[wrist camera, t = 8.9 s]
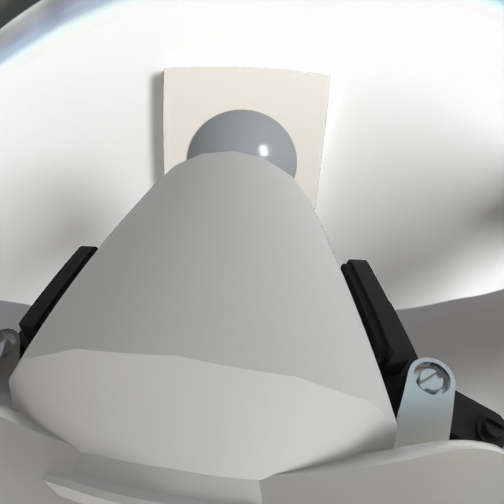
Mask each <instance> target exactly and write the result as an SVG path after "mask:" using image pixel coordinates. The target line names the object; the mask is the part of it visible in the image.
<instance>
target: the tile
mask: <svg viewBox="0 0 504 504" xmlns="http://www.w3.org/2000/svg"><path fill="white" fill-rule="evenodd" d="M329 84H330V75H324V74H317V73H309V72H301V71H292V70H282V69H269V68H253V67H178V68H164V99H163V137H164V175H165V174H166V173H167V172H168V171H170V170H171V169H172V168H173V167H174V166H175V165H177V164H180V163H182V162H184V161H186V160H189V159H191V158H193V157H196V156H198V155H200V154H203V153H215V152H228V151H236V152H240V153H244V154H248V155H252V156H256V157H260V158H264V159H266V160H268V161H269V162H271V163H272V164H274V165H276V166H277V167H279V168H280V169H282V170H283V171H285V172H286V173H288V174H289V175H291V176H292V177H293V179H294V180H295V181H296V183H297V184H298V185H299V186H300V188H301V189H302V190H303V192H304V193H305V194H306V195H307V197H308V198H309V200H310V202H311V204H312V206H313V208H314V210H315V206H316V198H317V191H318V184H319V176H320V169H321V161H322V152H323V144H324V135H325V126H326V116H327V106H328V95H329Z"/></svg>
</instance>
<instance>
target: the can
mask: <svg viewBox="0 0 504 504" xmlns="http://www.w3.org/2000/svg"><path fill="white" fill-rule="evenodd" d="M9 386H10V392H11V397H12V402H13V407H14V410H15V411H18V412H20V413H23V414H25V415H27V416H28V417H29V418H30V419H31V420H32V421H33V422H35V423H36V424H37V425H38V426H39V427H41V428H42V429H44V430H46V431H48V432H49V433H51V434H53V435H55V436H57V437H58V438H60V439H62V440H64V441H66V442H68V443H70V444H72V445H73V446H74V447H75V448H76V449H77V450H79V451H80V452H81V453H80V456H79V458H78V461H77V463H76V466H75V469H74V471H73V473H44V475H43V479H42V480H43V481H44V482H45V483H46V484H47V485H48V486H49V487H50V488H51V489H53V490H54V491H55V492H56V493H57V494H58V495H61V496H63V497H66V498H68V499H71V500H74V501H76V502H79V503H82V504H263V503H262V497H261V491H260V485H259V480H262V479H265V478H267V477H269V476H272V475H274V474H280V473H285V472H291V471H296V470H300V469H305V468H310V467H314V466H319V465H323V464H327V463H331V462H335V461H339V460H343V459H346V458H348V457H351V456H353V455H356V454H361V453H369V452H376V451H382V450H388V449H394V447H395V445H396V444H397V429H398V426H397V423H396V419H395V416H394V413H393V410H392V406H391V403H390V400H389V397H388V394H387V391H386V388H385V385H384V382H383V379H382V376H381V373H380V370H379V367H378V365H377V362H376V359H375V356H374V353H373V350H372V348H371V345H370V342H369V340H368V337H367V334H366V332H365V329H364V326H363V324H362V321H361V318H360V316H359V313H358V311H357V308H356V306H355V303H354V301H353V298H352V296H351V293H350V291H349V288H348V286H347V283H346V281H345V278H344V276H343V274H342V271H341V269H340V267H339V264H338V262H337V260H336V257H335V255H334V253H333V250H332V248H331V246H330V243H329V241H328V239H327V237H326V235H325V232H324V230H323V228H322V226H321V223H320V221H319V219H318V217H317V215H316V213H315V210H314V208H313V206H312V204H311V202H310V200H309V198H308V197H307V195H306V194H305V193H304V192H303V190H302V189H301V188H300V186H299V185H298V184H297V183H296V181H295V180H294V179H293V177H292V176H291V175H289V174H288V173H286V172H285V171H283V170H282V169H280V168H279V167H277V166H276V165H274V164H272V163H271V162H269V161H268V160H266V159H264V158H260V157H256V156H252V155H248V154H244V153H240V152H236V151H228V152H215V153H203V154H200V155H198V156H196V157H193V158H191V159H189V160H186V161H184V162H182V163H180V164H177V165H175V166H174V167H173V168H172V169H171V170H170V171H168V172H167V173H166V174H165V175H164V176H163V177H162V178H161V179H160V180H159V181H158V182H157V183H156V184H155V185H154V186H153V187H152V188H151V189H150V190H149V191H148V192H147V193H146V194H145V195H144V197H143V198H142V199H141V200H140V201H139V202H138V203H137V204H136V205H135V206H134V208H133V209H132V210H131V211H130V212H129V213H128V214H127V215H126V217H125V218H124V219H123V220H122V221H121V222H120V224H119V225H118V226H117V227H116V228H115V229H114V231H113V232H112V233H111V234H110V235H109V236H108V238H107V239H106V240H105V241H104V243H103V244H102V245H101V246H100V247H99V249H98V250H97V251H96V252H95V254H94V255H93V256H92V257H91V259H90V260H89V261H88V262H87V264H86V265H85V266H84V268H83V269H82V270H81V271H80V273H79V274H78V275H77V277H76V278H75V279H74V281H73V282H72V283H71V285H70V286H69V287H68V289H67V290H66V292H65V293H64V294H63V296H62V297H61V299H60V300H59V301H58V303H57V304H56V306H55V307H54V308H53V310H52V311H51V313H50V314H49V316H48V317H47V319H46V320H45V322H44V323H43V325H42V326H41V328H40V329H39V331H38V332H37V334H36V335H35V337H34V338H33V340H32V342H31V343H30V345H29V346H28V348H27V350H26V351H25V353H24V355H23V356H22V358H21V360H20V361H19V363H18V365H17V366H16V368H15V370H14V371H13V373H12V375H11V377H10V379H9Z"/></svg>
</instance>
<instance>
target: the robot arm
mask: <svg viewBox="0 0 504 504" xmlns="http://www.w3.org/2000/svg"><path fill="white" fill-rule="evenodd" d="M97 250H98V248H97V247H90V246H81V247H80V248H79V249H78V250H77V251H76V252H75V253H74V254H73V256H72V257H71V258H70V259H69V260H68V261H67V263H66V264H65V265H64V266H63V267H62V269H61V270H60V271H59V272H58V273H57V275H56V276H55V277H54V278H53V279H52V281H51V282H50V283H49V284H48V286H47V287H46V288H45V289H44V291H43V292H42V293H41V295H40V296H39V297H38V298H37V300H36V301H35V302H34V304H33V305H32V306H31V308H30V309H29V310H28V312H27V313H26V314H25V316H24V317H23V319H22V320H21V321H20V323H19V326H20V328H21V331H20V332H19V334H18V333H17V332H16V331H15V330H13V329H9V328H8V329H2V330H0V504H82V503H79V502H76V501H74V500H71V499H68V498H66V497H63V496H61V495H58V494H57V493H56V492H55V491H54V490H53V489H51V488H50V487H49V486H48V485H47V484H46V483H45V482H44V481H43V480H42V479H43V475H44V473H73V471H74V469H75V466H76V463H77V461H78V458H79V456H80V453H81V452H80V451H79V450H77V449H76V448H75V447H74V446H73V445H72V444H70V443H68V442H66V441H64V440H62V439H60V438H58V437H57V436H55V435H53V434H51V433H49V432H48V431H46V430H44V429H42V428H41V427H39V426H38V425H37V424H36V423H35V422H33V421H32V420H31V419H30V418H29V417H28V416H27V415H25V414H23V413H20V412H18V411H15V410H14V407H13V402H12V397H11V392H10V386H9V379H10V377H11V375H12V373H13V371H14V370H15V368H16V366H17V365H18V363H19V361H20V360H21V358H22V356H23V355H24V353H25V351H26V350H27V348H28V346H29V345H30V343H31V342H32V340H33V338H34V337H35V335H36V334H37V332H38V331H39V329H40V328H41V326H42V325H43V323H44V322H45V320H46V319H47V317H48V316H49V314H50V313H51V311H52V310H53V308H54V307H55V306H56V304H57V303H58V301H59V300H60V299H61V297H62V296H63V294H64V293H65V292H66V290H67V289H68V287H69V286H70V285H71V283H72V282H73V281H74V279H75V278H76V277H77V275H78V274H79V273H80V271H81V270H82V269H83V268H84V266H85V265H86V264H87V262H88V261H89V260H90V259H91V257H92V256H93V255H94V254H95V252H96V251H97ZM341 271H342V274H343V276H344V278H345V281H346V283H347V286H348V288H349V291H350V293H351V296H352V298H353V301H354V303H355V306H356V308H357V311H358V313H359V316H360V318H361V321H362V324H363V326H364V329H365V332H366V334H367V337H368V340H369V342H370V345H371V348H372V350H373V353H374V356H375V359H376V362H377V365H378V367H379V370H380V373H381V376H382V379H383V382H384V385H385V388H386V391H387V394H388V397H389V400H390V403H391V406H392V410H393V413H394V416H395V419H396V423H397V426H398V429H397V444H396V445H395V447H394V449H388V450H382V451H376V452H369V453H361V454H356V455H353V456H351V457H348V458H346V459H343V460H339V461H335V462H331V463H327V464H323V465H319V466H314V467H310V468H305V469H300V470H296V471H291V472H285V473H280V474H274V475H272V476H269V477H267V478H265V479H262V480H259V485H260V491H261V497H262V503H263V504H504V420H503V418H502V417H501V416H500V415H498V414H497V413H496V412H494V411H492V410H490V409H488V408H486V407H485V406H483V405H481V404H479V403H477V402H476V401H474V400H472V399H470V398H468V397H466V396H464V395H463V394H461V393H459V392H457V391H456V390H455V378H454V376H453V373H452V371H451V370H450V369H449V368H448V367H447V366H446V365H445V364H444V363H442V362H441V361H439V360H436V359H433V358H428V357H427V358H420V359H418V357H417V355H416V353H415V350H414V348H413V346H412V344H411V342H410V340H409V338H408V336H407V334H406V332H405V330H404V328H403V326H402V324H401V322H400V320H399V318H398V316H397V314H396V312H395V310H394V308H393V306H392V304H391V303H390V302H389V301H388V299H387V297H386V295H385V293H384V291H383V289H382V288H381V286H380V284H379V282H378V280H377V278H376V277H375V275H374V273H373V271H372V269H371V268H370V266H369V264H368V262H367V261H366V260H348V262H347V264H342V266H341Z"/></svg>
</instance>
